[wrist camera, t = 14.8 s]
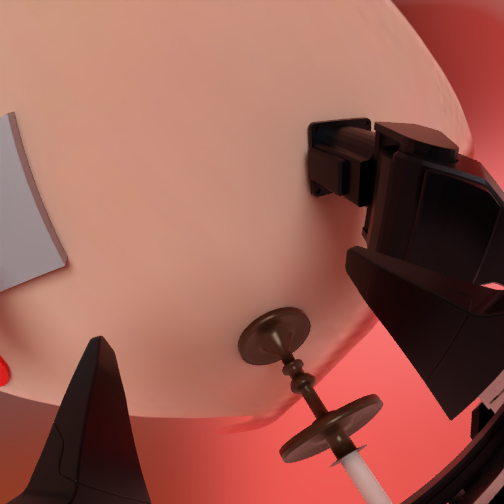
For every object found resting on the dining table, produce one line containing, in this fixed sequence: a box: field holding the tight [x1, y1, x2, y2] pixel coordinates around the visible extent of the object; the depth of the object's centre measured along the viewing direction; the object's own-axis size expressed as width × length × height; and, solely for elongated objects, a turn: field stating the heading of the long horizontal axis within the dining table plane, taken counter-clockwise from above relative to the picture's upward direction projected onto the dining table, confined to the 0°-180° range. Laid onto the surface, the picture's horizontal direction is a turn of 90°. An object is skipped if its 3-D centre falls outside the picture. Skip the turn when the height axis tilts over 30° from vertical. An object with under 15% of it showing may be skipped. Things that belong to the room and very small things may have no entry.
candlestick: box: [238, 307, 393, 504], centre depth 19 cm, size 11×11×35 cm
